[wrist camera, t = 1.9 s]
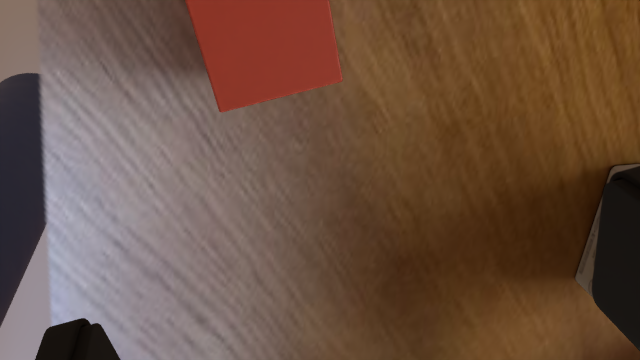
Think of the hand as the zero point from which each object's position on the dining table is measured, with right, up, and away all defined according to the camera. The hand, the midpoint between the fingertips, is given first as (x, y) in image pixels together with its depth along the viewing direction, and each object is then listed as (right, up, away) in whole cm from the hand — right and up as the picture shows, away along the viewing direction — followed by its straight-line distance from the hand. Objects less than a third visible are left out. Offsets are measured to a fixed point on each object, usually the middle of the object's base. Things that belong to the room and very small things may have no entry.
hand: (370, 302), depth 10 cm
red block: (-4, +10, +14) cm, 18 cm away
